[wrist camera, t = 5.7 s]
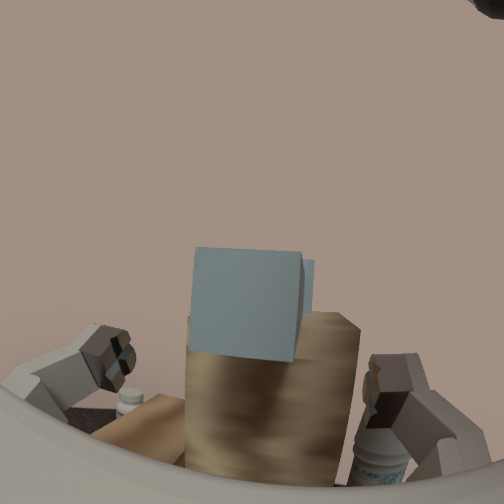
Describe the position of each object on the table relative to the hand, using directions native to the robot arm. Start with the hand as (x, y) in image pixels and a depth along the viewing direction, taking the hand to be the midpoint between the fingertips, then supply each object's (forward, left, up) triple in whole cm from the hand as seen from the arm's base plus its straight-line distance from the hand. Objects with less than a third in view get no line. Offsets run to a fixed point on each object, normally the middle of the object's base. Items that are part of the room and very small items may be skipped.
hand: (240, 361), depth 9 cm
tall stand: (0, -16, -26) cm, 31 cm away
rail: (0, -12, 0) cm, 12 cm away
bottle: (-11, -18, -26) cm, 33 cm away
